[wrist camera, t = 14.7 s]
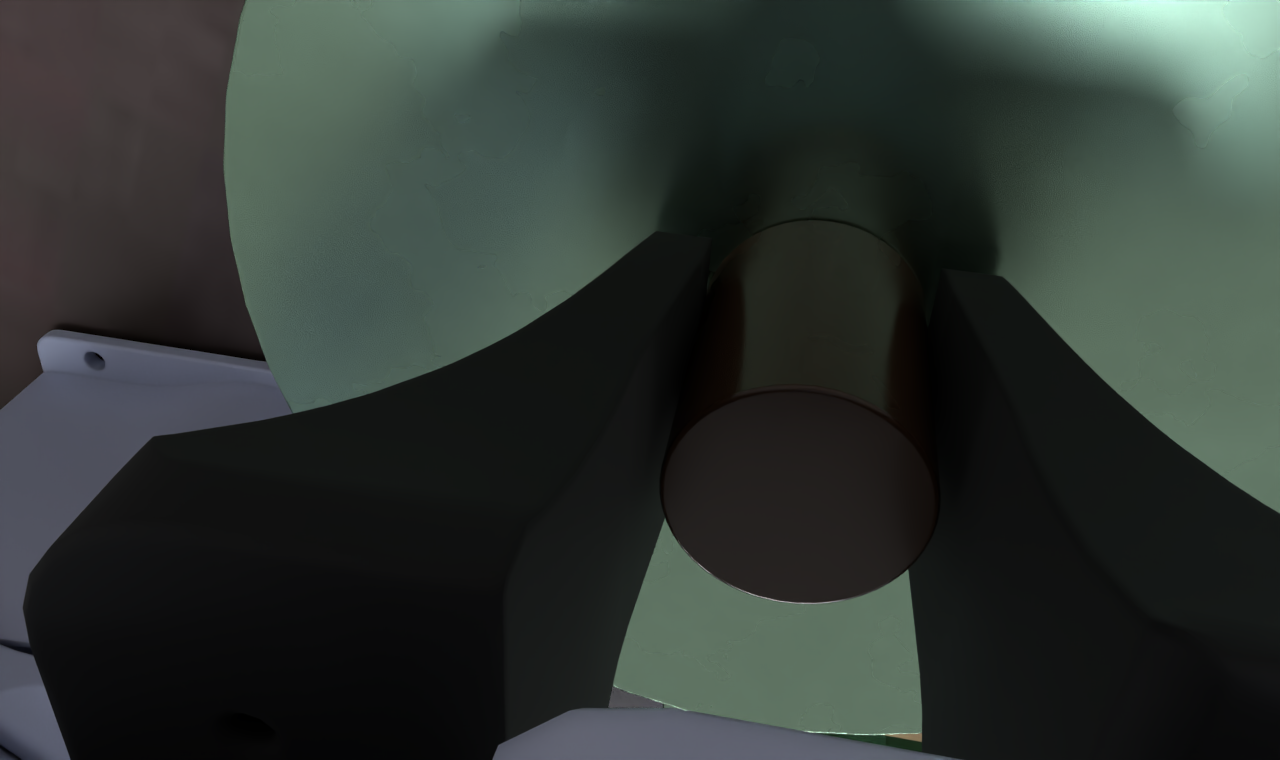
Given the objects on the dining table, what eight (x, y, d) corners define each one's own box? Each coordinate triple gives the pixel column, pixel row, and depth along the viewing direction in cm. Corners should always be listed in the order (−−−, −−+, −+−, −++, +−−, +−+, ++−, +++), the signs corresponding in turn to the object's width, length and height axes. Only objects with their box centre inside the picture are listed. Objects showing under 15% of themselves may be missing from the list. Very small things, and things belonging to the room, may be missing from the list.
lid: (325, 593, 18) (186, 831, 14) (173, -492, 10) (-207, -568, 6) (1218, 749, 16) (1316, 1059, 13) (1836, -393, 8) (2520, -422, 5)
